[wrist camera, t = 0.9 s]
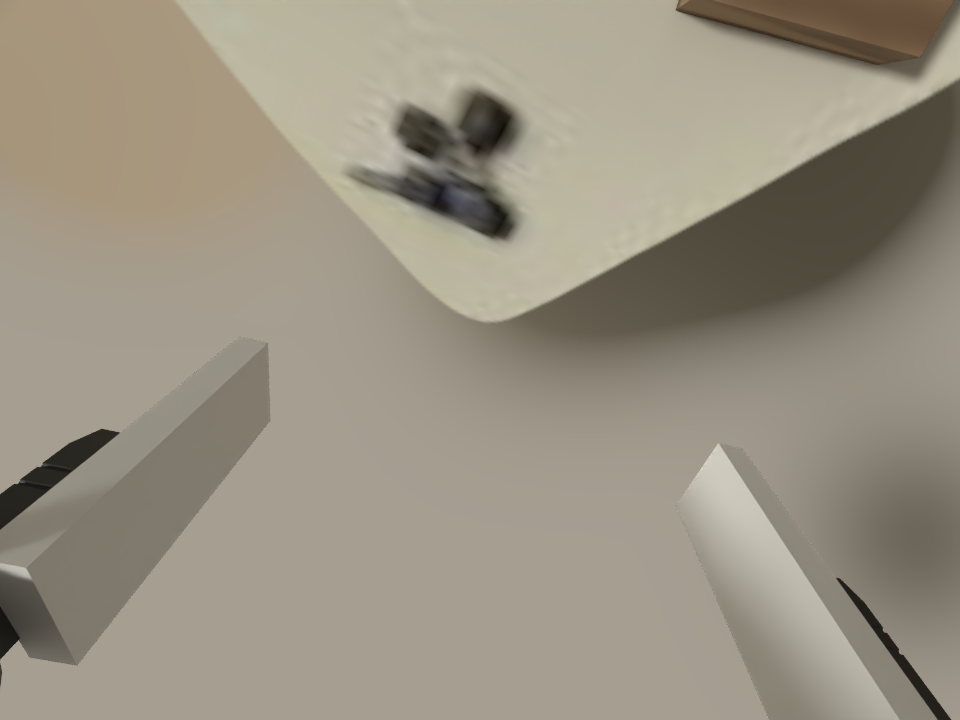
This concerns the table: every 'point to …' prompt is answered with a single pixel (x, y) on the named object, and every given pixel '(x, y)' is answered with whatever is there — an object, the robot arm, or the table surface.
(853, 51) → the well block
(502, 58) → the table surface
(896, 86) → the table surface
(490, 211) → the table surface
